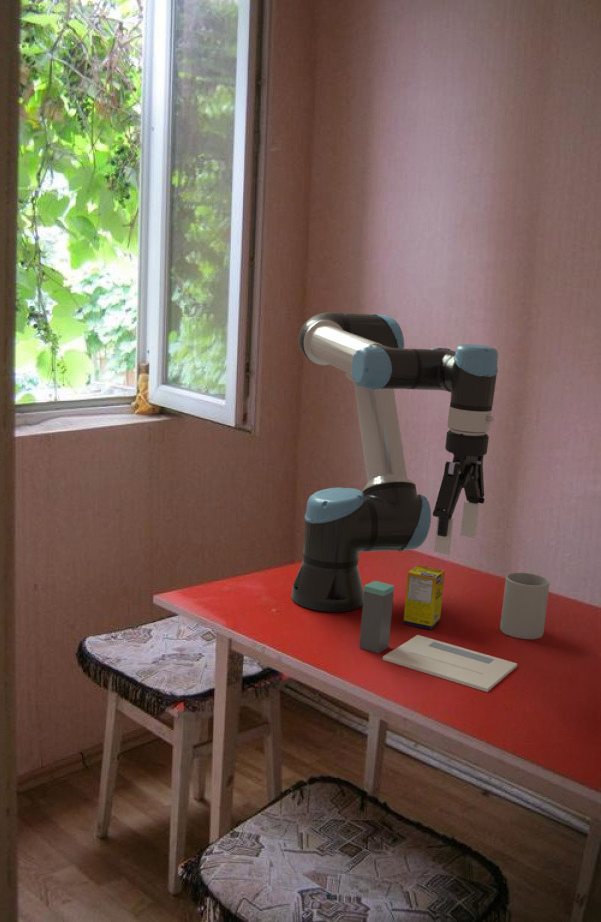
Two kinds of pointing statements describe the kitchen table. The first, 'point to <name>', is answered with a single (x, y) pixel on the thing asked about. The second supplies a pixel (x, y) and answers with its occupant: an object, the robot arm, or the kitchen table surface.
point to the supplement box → (424, 597)
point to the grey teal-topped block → (376, 616)
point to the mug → (524, 605)
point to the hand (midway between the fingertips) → (455, 544)
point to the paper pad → (451, 662)
